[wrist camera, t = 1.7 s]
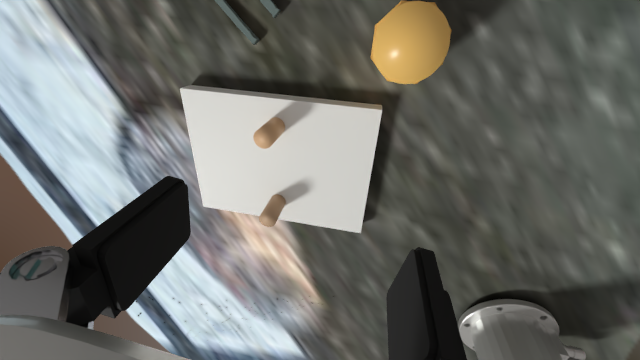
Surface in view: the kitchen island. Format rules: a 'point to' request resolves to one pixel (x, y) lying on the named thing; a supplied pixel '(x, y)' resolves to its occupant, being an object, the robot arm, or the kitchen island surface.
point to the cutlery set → (239, 22)
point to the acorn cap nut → (411, 42)
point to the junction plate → (282, 155)
